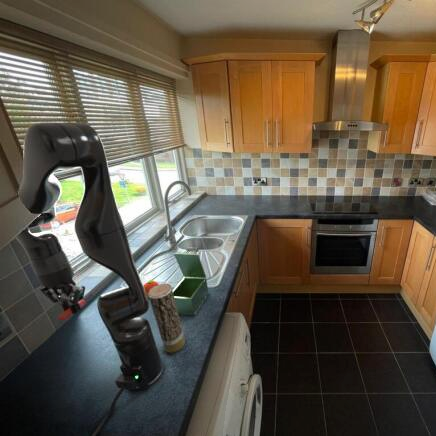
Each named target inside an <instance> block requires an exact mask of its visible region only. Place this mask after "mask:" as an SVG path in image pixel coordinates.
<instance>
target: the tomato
mask: <svg viewBox="0 0 436 436" xmlns="http://www.w3.org/2000/svg"><path fill="white" fill-rule="evenodd" d="M156 285H159V283H158V282H157V281H155V280H154V279H150V280H148V281H146V282H145V283H144V284H143V286H144V289H145V292H146V294H147V297H149V296H148V292H149V290H150V289H151V288H153V287H154V286H156Z"/></svg>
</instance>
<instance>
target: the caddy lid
mask: <svg viewBox="0 0 436 436" xmlns="http://www.w3.org/2000/svg"><path fill="white" fill-rule="evenodd" d="M199 251H200V250H199V247H189V246H188V247H185V251H184V252H174V253H173V255H174V257H175V260H176V262H177V264H178V267H179V270H180V272H181V273H182V276H183V278H184V277H193V278H206V279H207V275H206V272H205V270H204V269H205V268H204V267H203V264H202V261H201V258H200V255H199V253H198V252H199ZM190 252H193V253H190Z"/></svg>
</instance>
